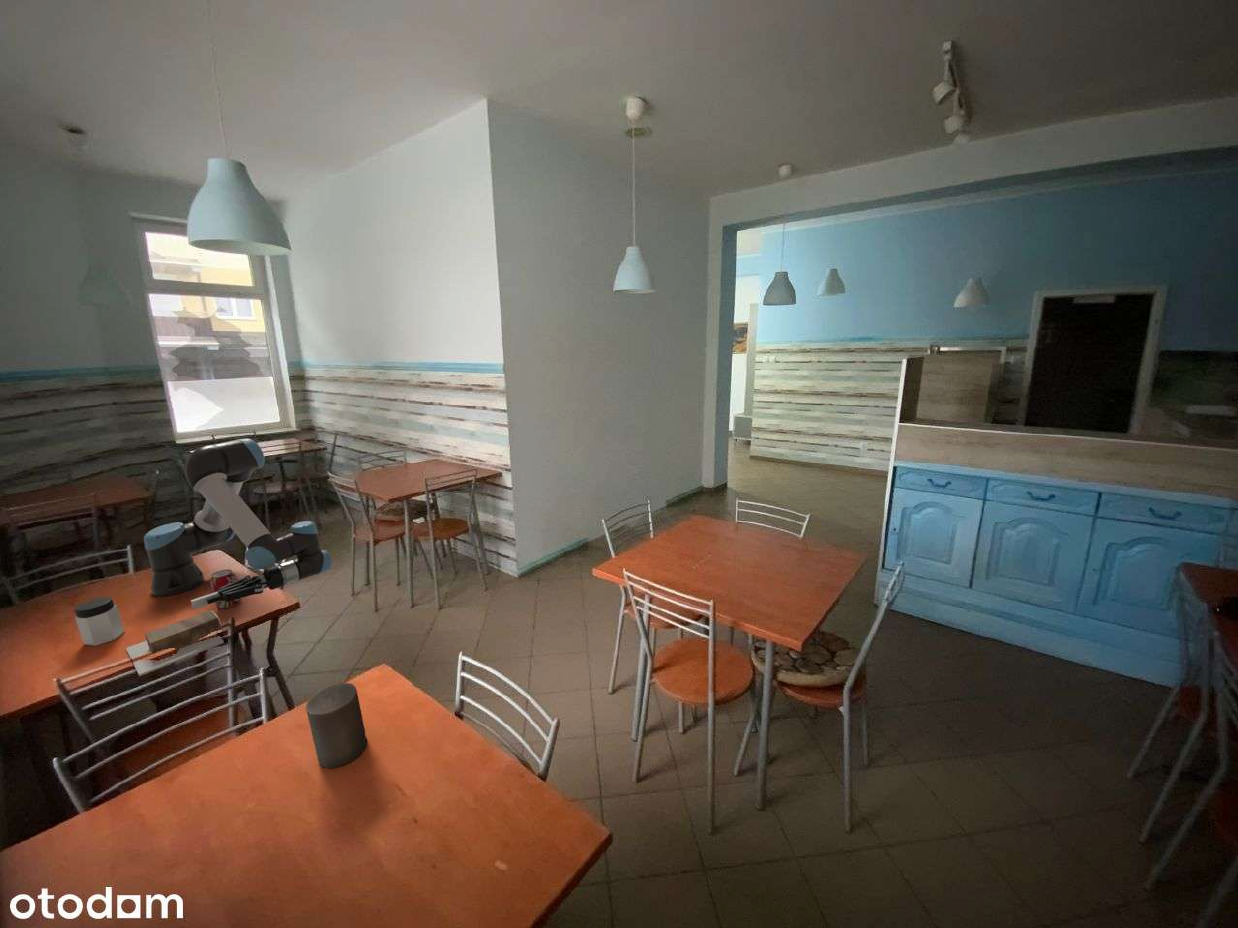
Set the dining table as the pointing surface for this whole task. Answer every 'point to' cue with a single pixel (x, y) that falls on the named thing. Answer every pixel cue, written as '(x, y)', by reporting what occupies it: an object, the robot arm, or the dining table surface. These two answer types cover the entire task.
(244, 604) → the dining table surface
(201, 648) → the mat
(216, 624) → the walnut block
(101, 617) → the jar
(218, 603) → the soda can
